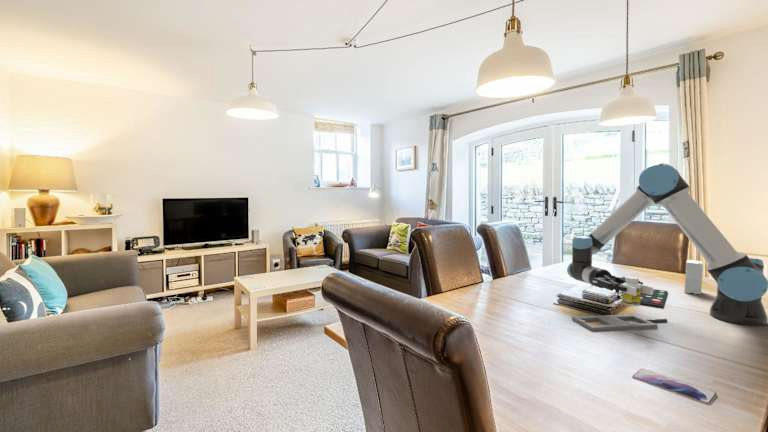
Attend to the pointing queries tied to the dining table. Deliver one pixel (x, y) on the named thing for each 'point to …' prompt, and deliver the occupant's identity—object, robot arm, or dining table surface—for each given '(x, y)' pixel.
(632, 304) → the supplement bottle
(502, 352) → the dining table surface
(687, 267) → the skincare box
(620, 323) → the socket strip
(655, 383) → the smartphone
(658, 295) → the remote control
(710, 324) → the dining table surface
